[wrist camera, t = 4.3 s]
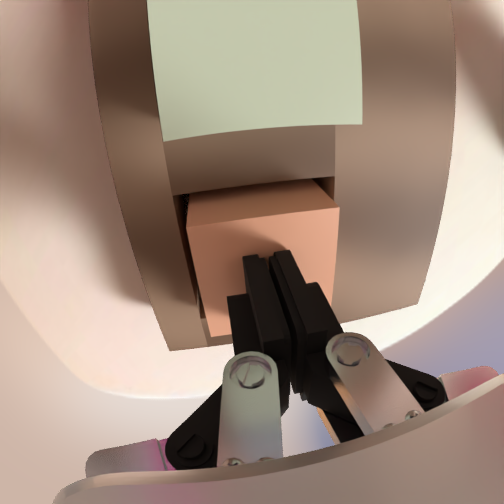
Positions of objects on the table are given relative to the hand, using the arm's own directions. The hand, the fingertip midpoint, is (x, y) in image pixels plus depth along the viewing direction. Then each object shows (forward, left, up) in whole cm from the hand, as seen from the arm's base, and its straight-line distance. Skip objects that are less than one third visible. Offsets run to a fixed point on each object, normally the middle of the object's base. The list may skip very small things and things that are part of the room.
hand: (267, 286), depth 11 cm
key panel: (-8, +2, -5) cm, 10 cm away
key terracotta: (0, 0, -5) cm, 5 cm away
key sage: (-8, 0, -3) cm, 9 cm away
